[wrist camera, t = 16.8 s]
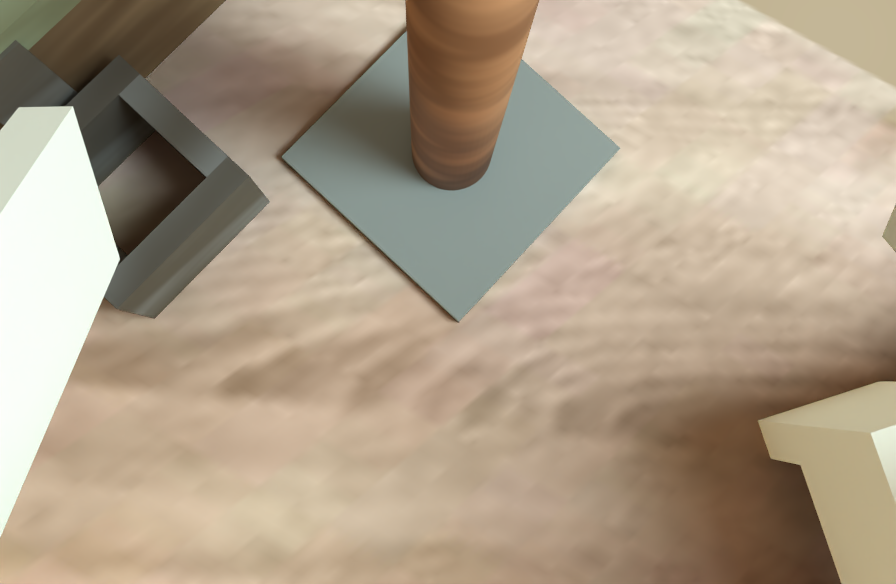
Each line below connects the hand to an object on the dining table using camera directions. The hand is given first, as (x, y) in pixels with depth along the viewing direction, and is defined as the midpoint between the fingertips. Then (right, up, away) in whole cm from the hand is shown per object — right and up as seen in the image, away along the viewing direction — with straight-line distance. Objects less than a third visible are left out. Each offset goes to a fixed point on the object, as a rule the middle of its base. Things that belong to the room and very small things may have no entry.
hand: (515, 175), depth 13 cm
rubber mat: (-1, +5, +28) cm, 29 cm away
